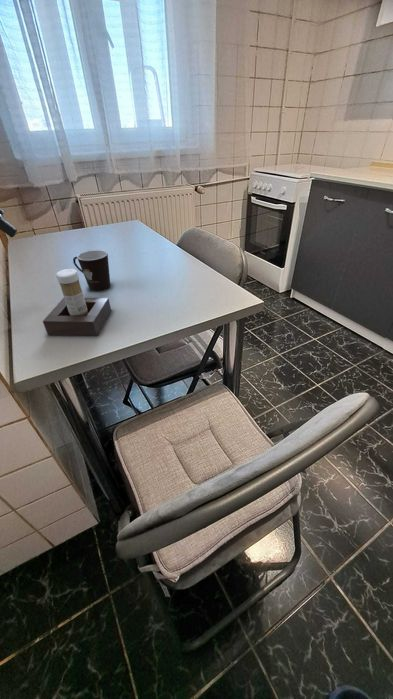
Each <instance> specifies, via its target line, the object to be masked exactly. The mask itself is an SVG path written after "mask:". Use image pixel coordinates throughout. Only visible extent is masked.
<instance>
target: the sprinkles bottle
mask: <svg viewBox="0 0 393 699" xmlns="http://www.w3.org/2000/svg"><path fill="white" fill-rule="evenodd" d="M55 276H56V279H57V282H58V284H59V285H60V288H61V292H62V297H63V298H64V299H65V302H66V305H67V308H68V311H69V313H70V316H87V315H88V310H87V306H86V303H85V299H84V298H85V296H84V292H83V289H82V287H81V283H80V277H79V274H78V271H77V269H75V268H64V269H61V270H59V271H57V272H56V274H55Z"/></svg>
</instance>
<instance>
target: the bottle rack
mask: <svg viewBox="0 0 393 699" xmlns="http://www.w3.org/2000/svg"><path fill="white" fill-rule="evenodd" d="M84 299H85V303H86V306H87V310H88V315H87V316H70V313H69V311H68V308H67V305H66V302H65V299H64V297H62V299H61V300H60V301H59V302H58V303H57V304H56V306H55V307H54V308H53V309H52V310H51V311H50V312H49V313H48V315H46V317H45V318H44V319H43V320H42V323H43V326H44V329H45V331H46V333H47V336H52V337H53V336H55V337H57V336H60V337H62V336H63V337H65V336H66V337H98V336H99V334H100V332H101V331H102V328H103V326H104V325H105V324H106V322H107V319H108V318H109V316H110V314H111V313H112V306H111V303H110V298H109V297H84Z"/></svg>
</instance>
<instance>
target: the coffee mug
mask: <svg viewBox="0 0 393 699" xmlns="http://www.w3.org/2000/svg"><path fill="white" fill-rule="evenodd" d="M76 260H77V261H78V263H79V265H80V267H79V265H78V264H77V262H76ZM72 261H73V262H72V263H73V265H74V266H75V267H76V269H77V270H78V271H79V272H80V273H82V274H83V276H84V278H85V281H86V283H87V286H88V288H89V290H90V291H92V292H103V291H107V290H108V289H110V288H111V274H110V265H109V264H110V263H109V254H108V252H107V251H106V250H102V249H94V250H86V251H83V252H81V253H78V254H77V256H74V257H73V258H72Z"/></svg>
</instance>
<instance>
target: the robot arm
mask: <svg viewBox="0 0 393 699" xmlns="http://www.w3.org/2000/svg"><path fill="white" fill-rule="evenodd" d="M4 214H5V211H4V210H3V209H2V208H0V230H1V231H2V232H3V233H5V234H6V235H7V236H9V237H10V238H14V237H16V235H17V233H18V230H17V228H16V227H14V226H13V225H12V224H11V223H10V222H8V221H7V220H6V219H4V218H3V216H4Z"/></svg>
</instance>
